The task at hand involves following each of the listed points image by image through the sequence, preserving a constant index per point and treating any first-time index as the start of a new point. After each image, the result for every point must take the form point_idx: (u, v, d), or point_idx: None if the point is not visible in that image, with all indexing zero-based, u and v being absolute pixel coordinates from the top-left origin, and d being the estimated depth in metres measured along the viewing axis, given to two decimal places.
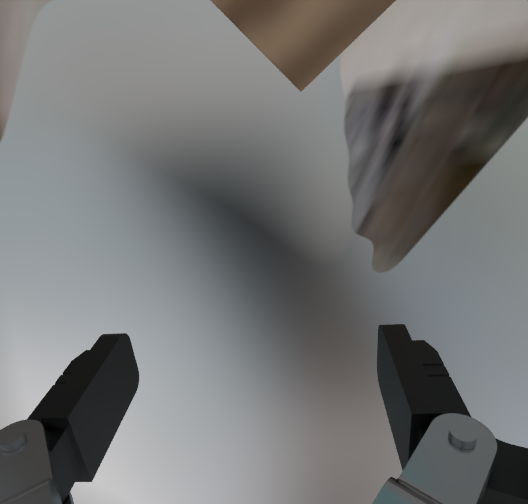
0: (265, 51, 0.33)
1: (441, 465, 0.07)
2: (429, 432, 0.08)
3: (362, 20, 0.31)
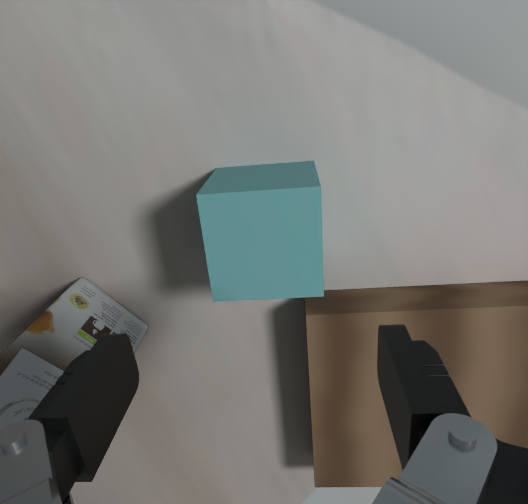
0: None
1: (441, 465, 0.07)
2: (429, 432, 0.08)
3: None
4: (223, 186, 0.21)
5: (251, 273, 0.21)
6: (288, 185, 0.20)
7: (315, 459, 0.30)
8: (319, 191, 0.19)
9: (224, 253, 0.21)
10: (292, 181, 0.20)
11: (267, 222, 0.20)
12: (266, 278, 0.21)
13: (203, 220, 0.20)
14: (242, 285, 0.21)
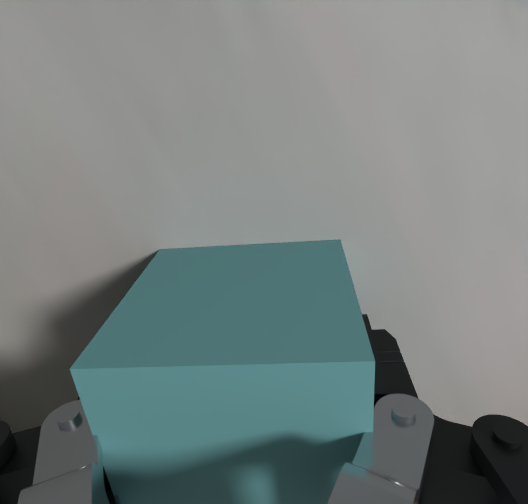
0: None
1: (380, 438, 0.08)
2: (374, 410, 0.09)
3: None
4: (146, 330, 0.09)
5: None
6: (293, 347, 0.08)
7: None
8: (371, 371, 0.08)
9: (149, 478, 0.09)
10: (302, 324, 0.09)
11: (243, 426, 0.08)
12: None
13: (93, 419, 0.09)
14: None
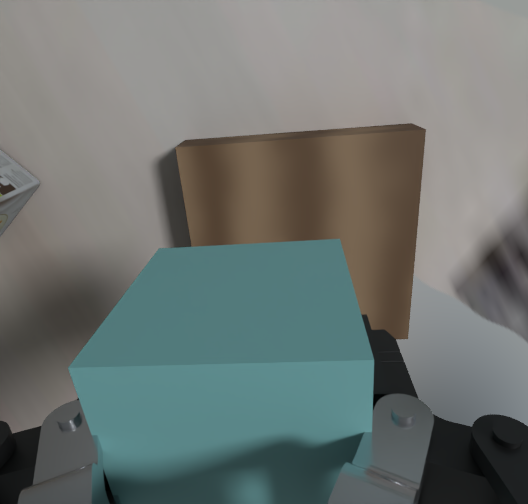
0: None
1: (380, 438, 0.08)
2: (374, 410, 0.09)
3: (405, 257, 0.29)
4: (145, 329, 0.09)
5: None
6: (292, 345, 0.08)
7: None
8: (370, 370, 0.08)
9: (147, 477, 0.09)
10: (301, 323, 0.09)
11: (242, 425, 0.08)
12: None
13: (92, 418, 0.09)
14: None
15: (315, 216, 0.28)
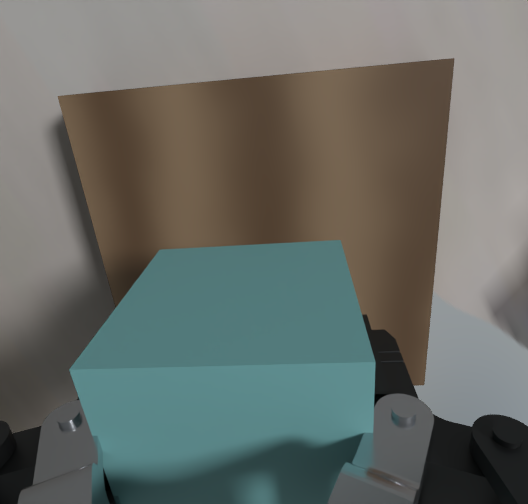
0: None
1: (380, 438, 0.08)
2: (374, 410, 0.09)
3: (420, 267, 0.19)
4: (145, 331, 0.09)
5: None
6: (293, 347, 0.08)
7: None
8: (371, 372, 0.08)
9: (149, 479, 0.09)
10: (302, 325, 0.09)
11: (243, 427, 0.08)
12: None
13: (93, 419, 0.09)
14: None
15: (281, 203, 0.18)
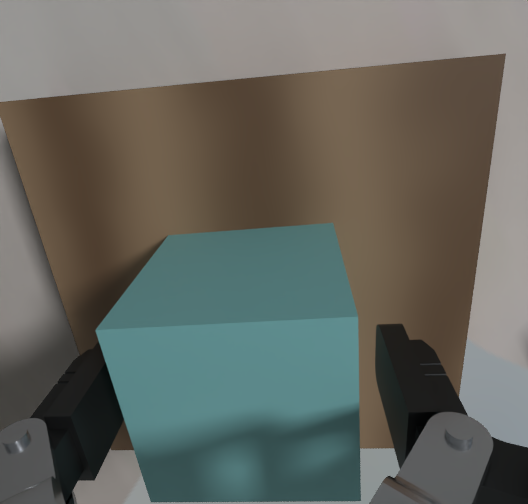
0: None
1: (437, 463, 0.07)
2: (426, 430, 0.08)
3: (451, 313, 0.15)
4: (159, 299, 0.10)
5: (220, 461, 0.11)
6: (289, 308, 0.09)
7: None
8: (355, 326, 0.09)
9: (164, 430, 0.10)
10: (296, 290, 0.10)
11: (246, 379, 0.10)
12: (248, 470, 0.11)
13: (116, 375, 0.10)
14: (203, 481, 0.11)
15: None
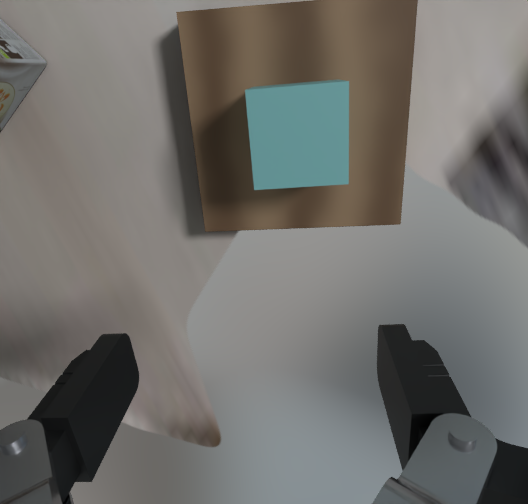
0: (343, 223, 0.33)
1: (441, 465, 0.07)
2: (429, 432, 0.08)
3: (397, 133, 0.30)
4: (265, 87, 0.25)
5: (288, 162, 0.25)
6: (321, 83, 0.24)
7: (202, 195, 0.33)
8: (347, 85, 0.23)
9: (266, 144, 0.25)
10: (324, 82, 0.24)
11: (303, 114, 0.24)
12: (300, 167, 0.25)
13: (249, 113, 0.24)
14: (279, 175, 0.25)
15: None
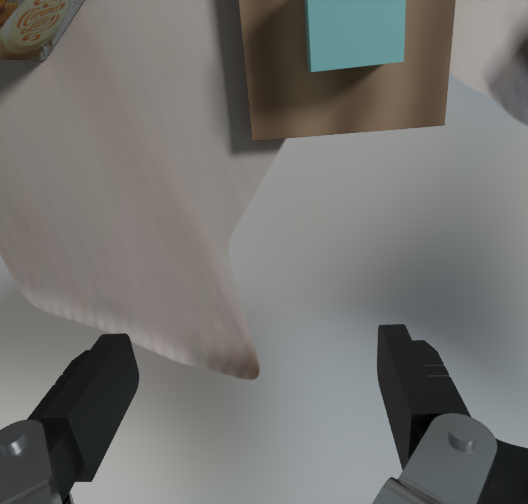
0: (388, 126, 0.34)
1: (441, 465, 0.07)
2: (429, 432, 0.08)
3: (443, 27, 0.30)
4: None
5: (345, 40, 0.26)
6: None
7: (250, 102, 0.34)
8: None
9: (324, 22, 0.26)
10: None
11: None
12: (356, 45, 0.26)
13: None
14: (336, 54, 0.26)
15: None
